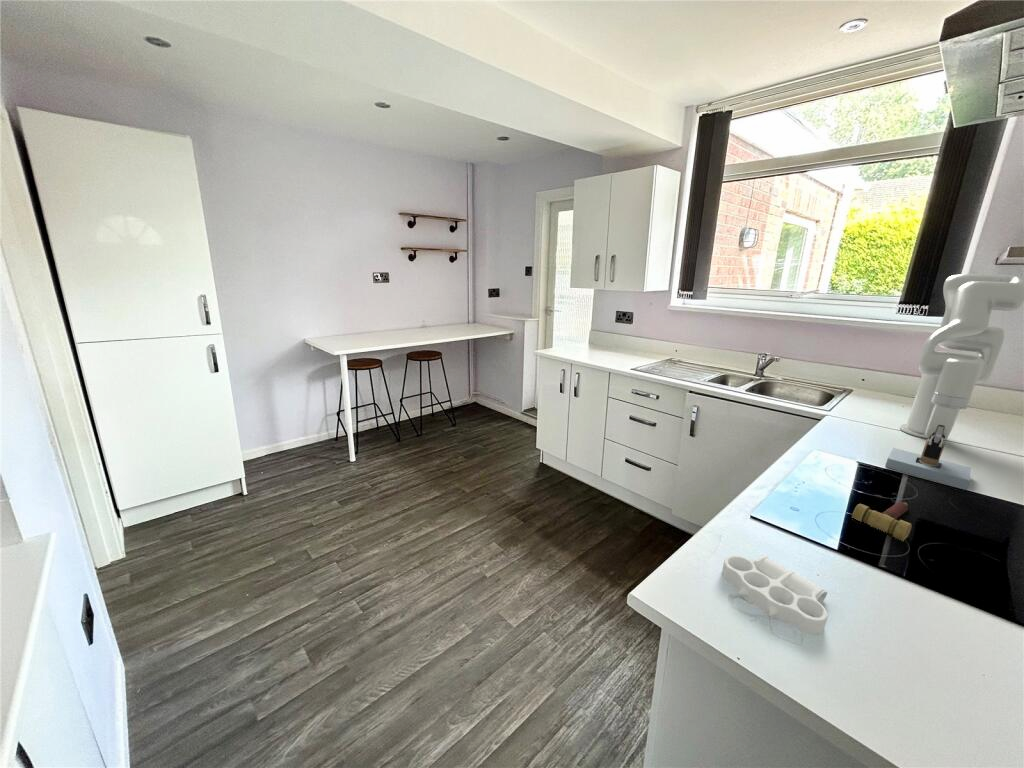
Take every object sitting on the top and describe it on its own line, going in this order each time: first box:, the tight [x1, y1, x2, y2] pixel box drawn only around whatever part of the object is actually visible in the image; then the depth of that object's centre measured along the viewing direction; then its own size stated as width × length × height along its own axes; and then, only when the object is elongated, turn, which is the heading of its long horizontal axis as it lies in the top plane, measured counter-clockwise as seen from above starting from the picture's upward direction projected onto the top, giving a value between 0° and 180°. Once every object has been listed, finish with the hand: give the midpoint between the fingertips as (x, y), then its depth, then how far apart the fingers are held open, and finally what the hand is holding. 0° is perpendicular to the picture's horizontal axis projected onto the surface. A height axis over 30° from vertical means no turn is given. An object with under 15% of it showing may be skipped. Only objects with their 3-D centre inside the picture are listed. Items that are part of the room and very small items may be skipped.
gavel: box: [851, 501, 912, 542], centre depth 106 cm, size 21×5×10 cm
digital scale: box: [885, 447, 972, 491], centre depth 131 cm, size 12×18×3 cm, turn 43°
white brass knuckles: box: [721, 554, 829, 635], centre depth 81 cm, size 3×18×15 cm
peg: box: [919, 438, 946, 468], centre depth 130 cm, size 4×4×10 cm
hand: (931, 453), depth 129 cm, fingers open, 9 cm apart
